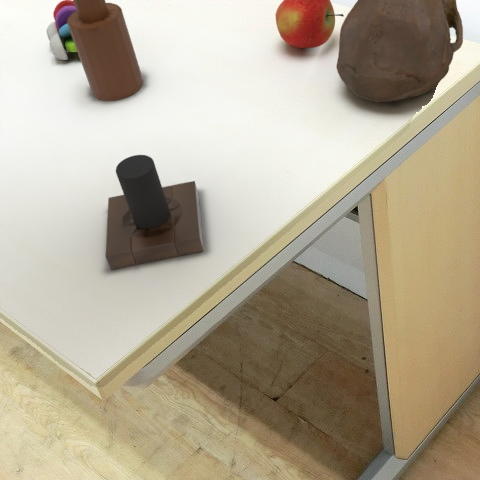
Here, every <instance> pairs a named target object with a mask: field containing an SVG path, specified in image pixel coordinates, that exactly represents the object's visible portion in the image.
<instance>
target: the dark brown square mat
mask: <svg viewBox="0 0 480 480" xmlns="http://www.w3.org/2000/svg"><path fill="white" fill-rule="evenodd" d="M162 189H163V192H164V195H165V198H166V201H167V204H168V207H169V210H170V216H169V218H168V220H167V221H166V222H165V223H164V224H162V225H161V226H158V227H156V228H152V229H143V228H139V227H138V226H136V224H135V223H134V220H133V217H132V215H131V212H130V209H129V207H128V204H127V201H126V198H125V196H124V194H120V195H115V196H111V197H108V201H107V219H106V220H107V221H106V242H105V258H106V261H107V263H108V265H109V268H110V270H111V271H112V270H116V269H122V268H128V267H132V266H135V265H141V264H146V263H150V262H151V263H152V262H156V261H161V260H166V259H171V258H175V257H176V258H177V257H181V256H182V257H183V256H187V255H192V254H197V253H201V252H204V251H205V250H204V239H203V228H202V227H203V226H202V218H201V217H202V216H201V207H200V206H201V205H200V196H199V191H198V187H197V184H196V181H195V180H191V181H187V182H182V183H181V182H180V183H176V184H171V185H166V186H162Z"/></svg>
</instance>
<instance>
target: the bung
mask: <svg viewBox="0 0 480 480" xmlns="http://www.w3.org/2000/svg"><path fill="white" fill-rule="evenodd" d="M158 173H159V172H158V170H157V167H156V164H155V161H154V159H153V158H152V157H151V156H149V155H146V154H136V155H135V154H134V155H131V156H128V157H126V158H124V159H123V160H121V161H120V162H119V163H118V164H117V165H116V167H115V174H116V177H117V179H118V182H119V184H120V187H121V190H122V193H123V195H124V196H125V198H126V201H127V204H128V207H129V209H130V212H131V215H132V217H133V220H134V223H135V224H136V226H138V227H139V228H143V229H152V228H156V227H158V226H161V225H162V224H164V223H165V222H166V221H167V220H168V218H169V216H170V210H169V207H168V204H167V201H166V198H165V195H164V192H163V189H162V187H163V185H162V182H161V179H160V177H159V174H158Z"/></svg>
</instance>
